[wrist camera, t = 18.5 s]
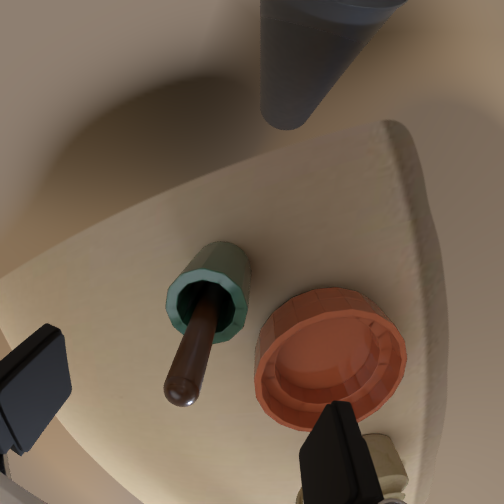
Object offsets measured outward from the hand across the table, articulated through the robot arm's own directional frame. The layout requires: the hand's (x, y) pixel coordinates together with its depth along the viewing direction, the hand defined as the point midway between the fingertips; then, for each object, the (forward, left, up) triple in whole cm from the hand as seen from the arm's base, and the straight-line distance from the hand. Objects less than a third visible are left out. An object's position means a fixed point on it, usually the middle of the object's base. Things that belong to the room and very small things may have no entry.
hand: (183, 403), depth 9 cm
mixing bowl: (+7, +11, -19) cm, 23 cm away
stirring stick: (+2, -1, -19) cm, 19 cm away
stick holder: (+1, -1, -19) cm, 19 cm away
